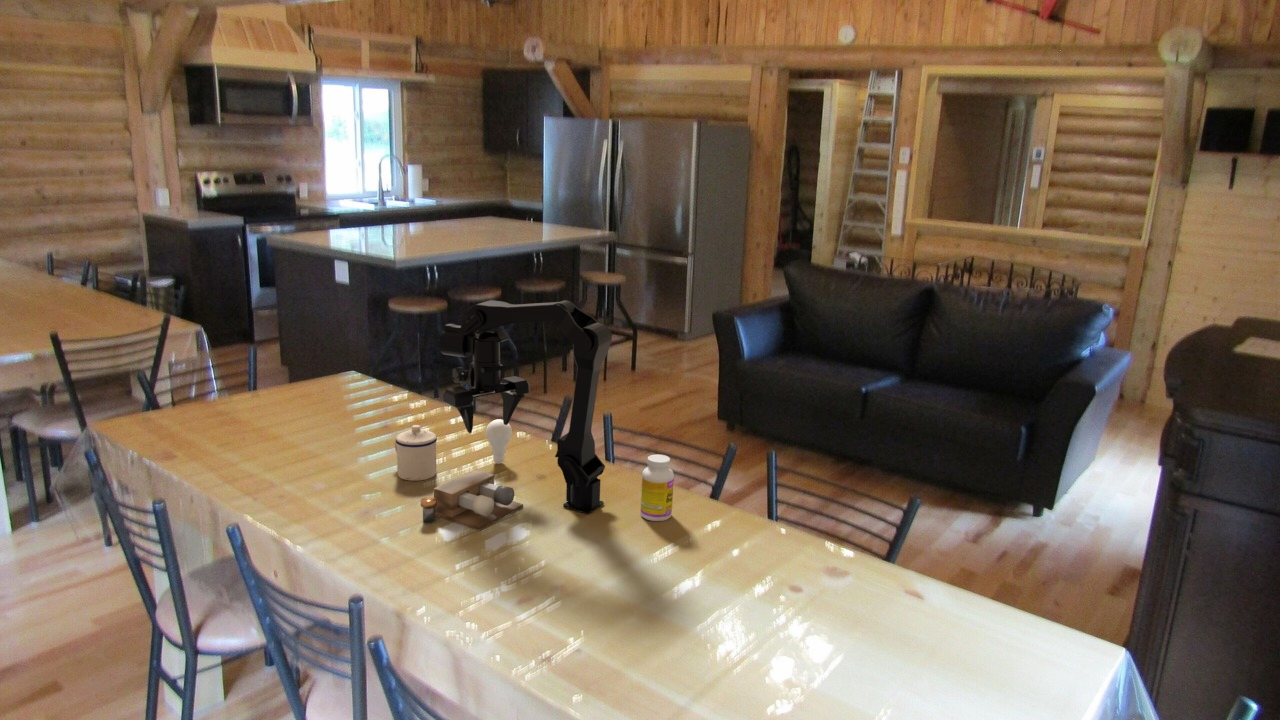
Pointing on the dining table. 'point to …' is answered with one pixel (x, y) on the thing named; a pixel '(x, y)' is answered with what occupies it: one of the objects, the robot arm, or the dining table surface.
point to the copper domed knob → (428, 509)
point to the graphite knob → (497, 493)
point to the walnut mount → (465, 516)
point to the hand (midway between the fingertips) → (487, 428)
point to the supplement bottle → (657, 489)
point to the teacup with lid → (416, 454)
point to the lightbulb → (498, 438)
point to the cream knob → (476, 503)
